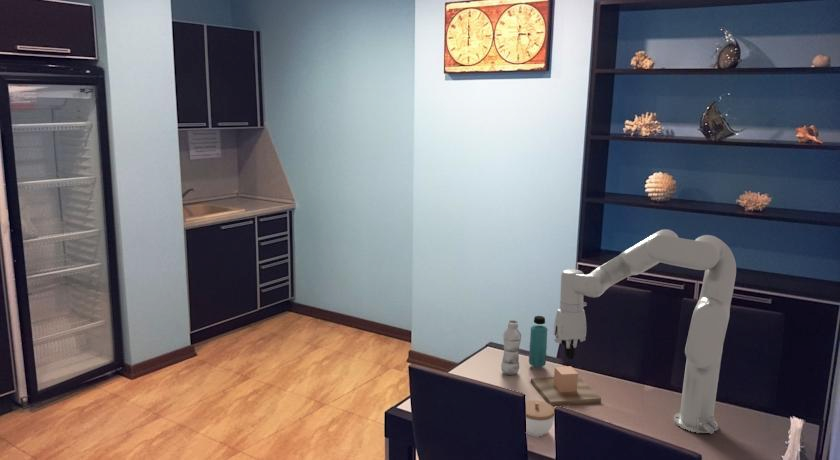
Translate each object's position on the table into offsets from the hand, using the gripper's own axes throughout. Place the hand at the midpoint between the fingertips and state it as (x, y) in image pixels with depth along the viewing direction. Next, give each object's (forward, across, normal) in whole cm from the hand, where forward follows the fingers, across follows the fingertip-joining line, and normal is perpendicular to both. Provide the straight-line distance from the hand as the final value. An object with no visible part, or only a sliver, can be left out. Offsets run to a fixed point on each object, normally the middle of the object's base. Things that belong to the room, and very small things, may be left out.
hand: (569, 357), depth 212 cm
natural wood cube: (+11, +1, -1) cm, 11 cm away
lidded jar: (+13, +21, +23) cm, 34 cm away
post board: (+13, +1, -1) cm, 13 cm away
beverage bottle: (+12, +3, -22) cm, 25 cm away
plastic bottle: (+12, +15, -18) cm, 26 cm away
